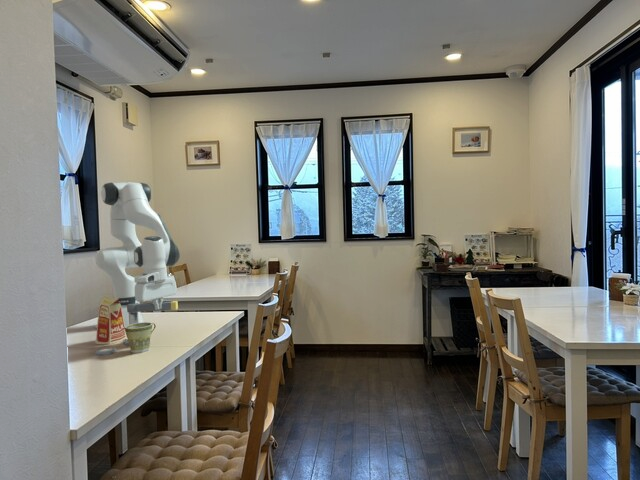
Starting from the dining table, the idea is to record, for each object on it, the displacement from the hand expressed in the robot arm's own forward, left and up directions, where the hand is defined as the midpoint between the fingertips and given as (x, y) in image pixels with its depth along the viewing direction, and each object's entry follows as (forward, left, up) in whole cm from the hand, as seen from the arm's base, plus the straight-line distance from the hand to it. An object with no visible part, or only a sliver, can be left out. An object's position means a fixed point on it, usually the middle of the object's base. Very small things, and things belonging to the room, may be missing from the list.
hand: (158, 309), depth 188 cm
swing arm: (-4, +2, -1) cm, 5 cm away
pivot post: (-12, 0, -14) cm, 18 cm away
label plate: (-15, -15, -14) cm, 25 cm away
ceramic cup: (-2, -10, -14) cm, 17 cm away
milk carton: (-24, +2, -14) cm, 28 cm away
